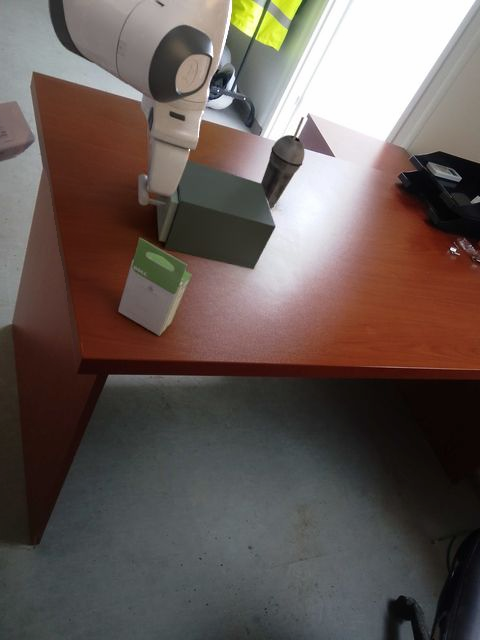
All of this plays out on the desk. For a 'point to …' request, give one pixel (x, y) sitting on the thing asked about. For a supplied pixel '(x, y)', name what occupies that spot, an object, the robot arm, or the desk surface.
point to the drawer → (159, 207)
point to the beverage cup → (282, 166)
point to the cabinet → (220, 217)
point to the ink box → (153, 287)
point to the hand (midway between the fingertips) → (151, 187)
